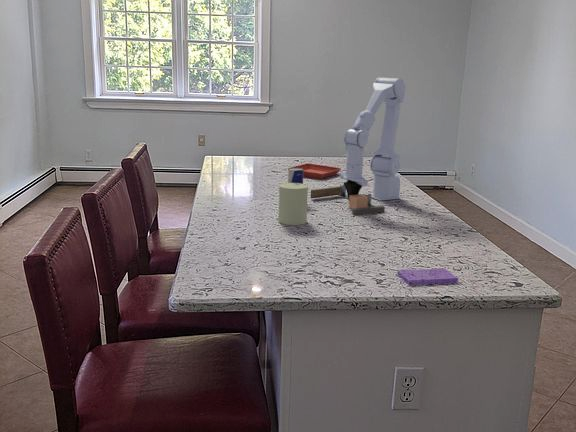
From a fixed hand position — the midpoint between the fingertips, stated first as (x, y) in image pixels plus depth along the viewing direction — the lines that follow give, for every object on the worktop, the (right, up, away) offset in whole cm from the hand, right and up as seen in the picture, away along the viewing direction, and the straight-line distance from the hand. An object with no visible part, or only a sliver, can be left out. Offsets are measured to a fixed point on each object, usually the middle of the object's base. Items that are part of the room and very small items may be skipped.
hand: (352, 202), depth 213 cm
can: (-21, -7, -21) cm, 31 cm away
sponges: (+11, -20, -68) cm, 72 cm away
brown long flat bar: (-9, +2, +12) cm, 15 cm away
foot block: (+2, -2, -3) cm, 4 cm away
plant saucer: (-11, +13, +57) cm, 59 cm away
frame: (+2, +1, +10) cm, 10 cm away
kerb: (+5, -4, -8) cm, 10 cm away
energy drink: (-20, 0, +4) cm, 21 cm away
